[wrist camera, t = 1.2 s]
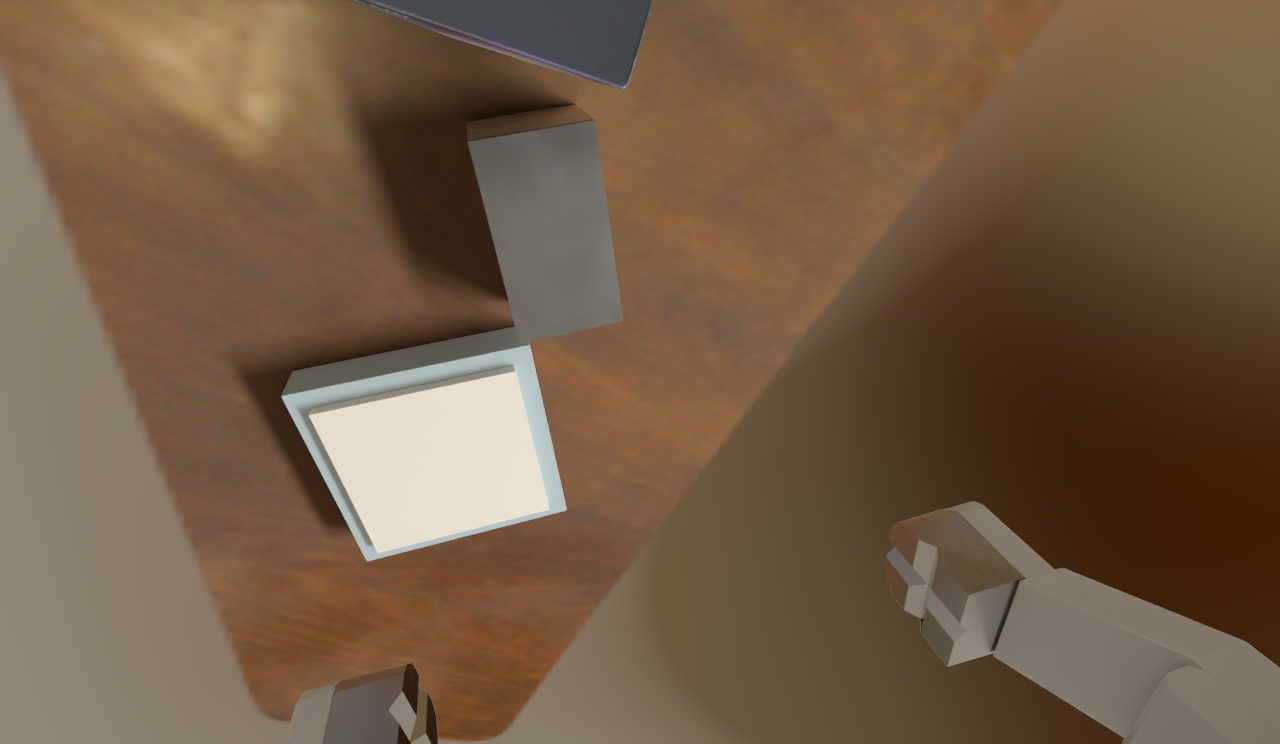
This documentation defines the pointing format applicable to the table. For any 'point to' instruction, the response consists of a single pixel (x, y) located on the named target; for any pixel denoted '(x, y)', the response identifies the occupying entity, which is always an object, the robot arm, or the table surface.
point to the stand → (430, 440)
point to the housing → (548, 219)
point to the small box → (540, 30)
